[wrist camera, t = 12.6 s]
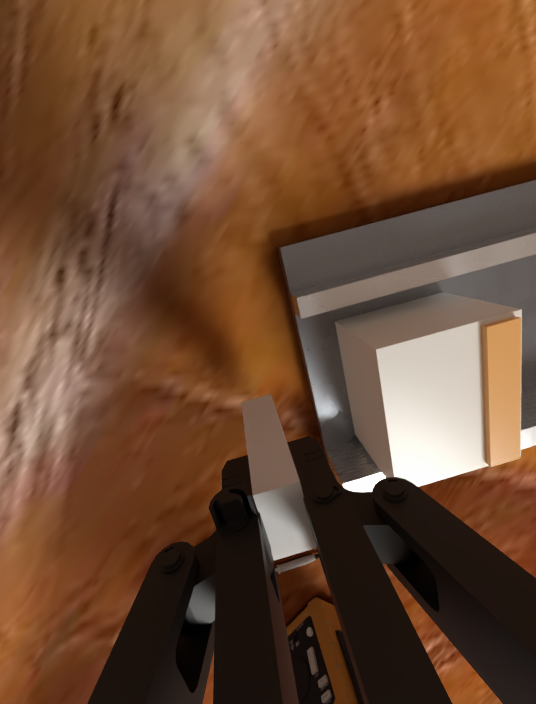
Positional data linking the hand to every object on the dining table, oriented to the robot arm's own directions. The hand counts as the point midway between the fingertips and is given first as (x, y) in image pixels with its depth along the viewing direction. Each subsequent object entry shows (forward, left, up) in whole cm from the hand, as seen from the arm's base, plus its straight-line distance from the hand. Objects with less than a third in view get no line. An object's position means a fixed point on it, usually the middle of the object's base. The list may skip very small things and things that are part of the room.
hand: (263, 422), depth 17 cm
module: (0, +8, -2) cm, 8 cm away
